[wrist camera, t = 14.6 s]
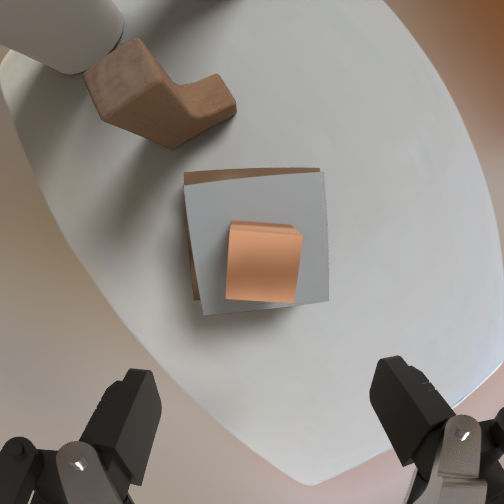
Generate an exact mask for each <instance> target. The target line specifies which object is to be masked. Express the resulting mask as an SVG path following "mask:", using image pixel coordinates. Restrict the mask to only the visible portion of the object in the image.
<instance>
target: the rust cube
mask: <svg viewBox="0 0 504 504" xmlns="http://www.w3.org/2000/svg"><path fill="white" fill-rule="evenodd" d="M302 242H303V235H302V234H300V233H299V232H298V231H297V230H296V229H295V228H294V227H293V226H292V225H290V224H278V223H267V222H255V221H242V220H232V223H231V227H230V234H229V249H228V264H227V281H226V298H225V299H234V300H249V301H265V302H285V303H294V299H295V292H296V286H297V279H298V272H299V265H300V257H301V250H302Z"/></svg>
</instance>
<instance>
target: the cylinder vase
mask: <svg viewBox="0 0 504 504" xmlns="http://www.w3.org/2000/svg"><path fill="white" fill-rule="evenodd" d="M123 27H124V18H123V15H122V13H121V12H120V10H119V9H118V8H117V7H116V5H115V4H114V3H113V2H112V0H0V44H1V45H4V46H6V47H8V48H10V49H12V50H15V51H17V52H19V53H21V54H24V55H26V56H28V57H30V58H32V59H34V60H36V61H39V62H41V63H43V64H45V65H47V66H49V67H51V68H53V69H55V70H57V71H59V72H61V73H63V74H77V73H81V72H83V71H86V70H88V69H89V68H91V67H92V66H93V65H95V64H96V63H97V62H98V61H100V60H101V59H103V58H104V57H105V56H107V55H108V54H109V53H110V51H111V50H112V49H113V48H114V46H115V45H116V44H117V42H118V40H119V38H120V36H121V34H122V31H123Z"/></svg>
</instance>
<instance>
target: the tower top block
mask: <svg viewBox="0 0 504 504" xmlns="http://www.w3.org/2000/svg"><path fill="white" fill-rule="evenodd" d="M183 187H184V195H185V203H186V211H187V218H188V225H189V232H190V239H191V246H192V252H193V258H194V265H195V271H196V277H197V282H198V288H199V294H200V299H201V304H202V310H203V315H211V314H223V313H234V312H244V311H254V310H263V309H272V308H281V307H289V306H297V305H304V304H312V303H319V302H326V301H329V256H328V229H327V210H326V195H325V182H324V172H312V173H296V174H282V175H270V176H259V177H249V178H239V179H231V180H222V181H214V182H206V183H199V184H192V185H185V186H183ZM232 220H242V221H255V222H267V223H278V224H290V225H292V226H293V227H294V228H295V229H296V230H297V231H298V232H299V233H300V234H302V235H303V242H302V250H301V257H300V265H299V272H298V279H297V286H296V292H295V299H294V303H285V302H265V301H249V300H234V299H225V298H226V281H227V264H228V249H229V234H230V227H231V223H232Z"/></svg>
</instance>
